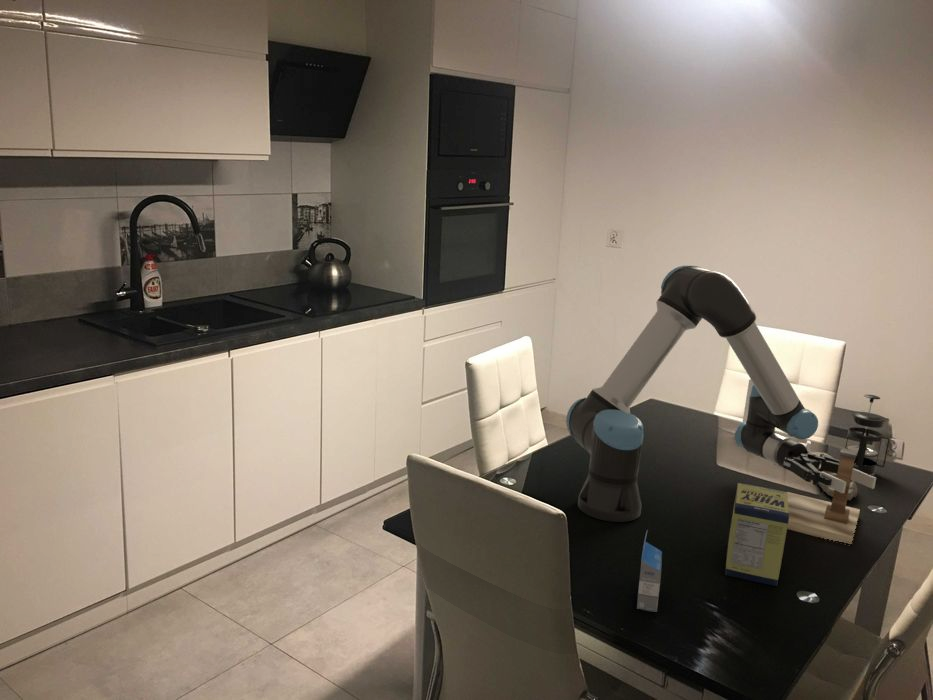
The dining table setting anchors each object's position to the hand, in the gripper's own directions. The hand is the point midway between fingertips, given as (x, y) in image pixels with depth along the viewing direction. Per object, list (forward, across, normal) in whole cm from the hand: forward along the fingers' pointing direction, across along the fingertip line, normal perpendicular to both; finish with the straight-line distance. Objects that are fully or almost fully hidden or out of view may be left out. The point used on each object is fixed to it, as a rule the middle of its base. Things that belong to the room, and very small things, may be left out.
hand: (859, 485), depth 187 cm
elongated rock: (-28, -25, -13) cm, 40 cm away
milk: (-62, -30, -12) cm, 70 cm away
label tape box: (+10, +67, -12) cm, 69 cm away
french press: (-30, -40, -12) cm, 52 cm away
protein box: (+5, +36, -12) cm, 39 cm away
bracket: (-45, -29, -13) cm, 55 cm away
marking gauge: (-4, 0, -10) cm, 11 cm away
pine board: (-9, +3, -12) cm, 16 cm away
